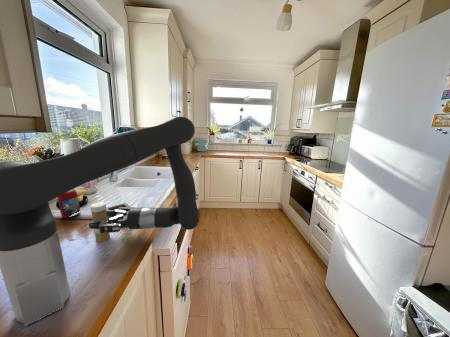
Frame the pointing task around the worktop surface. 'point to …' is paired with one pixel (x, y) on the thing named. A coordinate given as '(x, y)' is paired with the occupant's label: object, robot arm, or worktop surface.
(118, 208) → the socket board
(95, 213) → the sprinkles bottle
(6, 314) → the worktop surface
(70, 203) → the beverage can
